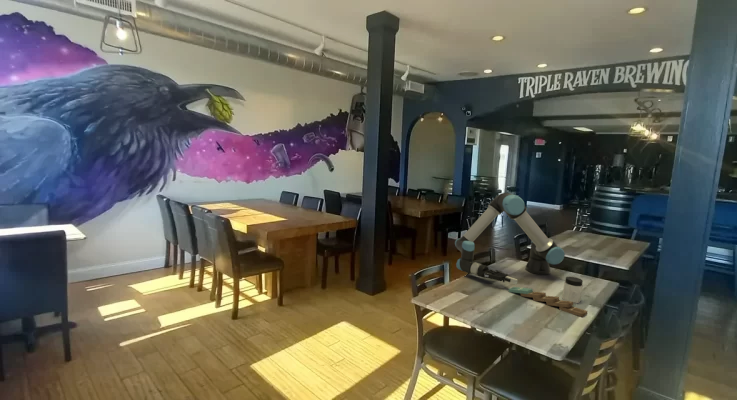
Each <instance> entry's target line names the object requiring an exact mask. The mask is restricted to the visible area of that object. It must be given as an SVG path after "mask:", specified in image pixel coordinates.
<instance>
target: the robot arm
mask: <svg viewBox="0 0 737 400" xmlns="http://www.w3.org/2000/svg"><path fill="white" fill-rule="evenodd" d="M527 208H528V207H526V204H525V202H524V199H522V198H521V197H520V196H519V195H517V194H512V193H509V192H502V193H500V194H498V195H497V196H495V197H494V198H493V199H492V200H491V201H490V202H489V204H488V205H487V209H486V210H485V211H484V212H483V213H482V214H481V215H480V216H479V217H478V218H477V220H475V222H474V223H473V224H472V225H471V226H470V227H469V228H468V230H467V231H466V232H465V233H464V234H463V235H462V236H461V237H460V238H456V240H455V241H454V245H455V246H454V247H455V248H456V249H457V250H458V251H459V252H460V253H461V256H460V257H459V259H458V258H457V261H456V263H455V265H456V268H457V269H458V270H460V271H462V272H465V273H468V274H471V275H474V276H477V277H479V278H483V279H486V278H487V279H491V280H494V281H499V282H502V283H505V282H507V283H509V284H513V285H517V284H518V279H517V278H514V277H510V276H509V274H507V273H504V272H502V271H499V270H498V269H495V270H493V269H489V267H488V266H487V265H484V264H482V263H479V262H476V261H474V258H475V257H474V254H475V248H476V247H475V242H474V241H475V240H476V239H477V238H478V237H479V236H480V235H481V234H482V233H483V231H485V229H487V227H488V226H489V225H491V223H492V222H493V221H494V219H495V218H497V216H499V215H501V214H502V213H503V212H504V213H505V214H506V215H507V216H508V217H509V219H511V220H514V221H515V222H516V223H517V225H518V226H519V227H520V228H521V229H522V231H523V232H524V233H525V234H526V235H527V237H528V238H529V239H530V240H531V242H530V250H529V259H528V261H527V263H526V265H525V271H527V272H528V273H532V274H534V275H543V276H547V275H550V274H551V267H550V265H555V266H556V265H559V264H560V263H561V262H562V261H564V259H565V251H564V249H563V248H562V247H560V246H558V244H557V243H556V242H555V240H553V239H552V238H548V236H547V235H546V234H545V232H544V231H543V230H542V229H541V227H539V225H538V224H537V223H536V221H535V220H534V219H533V218H532V217H531V216H530V214H529V213H528V212H527V210H528V209H527Z"/></svg>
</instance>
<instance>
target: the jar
mask: <svg viewBox="0 0 737 400" xmlns="http://www.w3.org/2000/svg"><path fill="white" fill-rule="evenodd" d="M582 293H583V279H581V278H578V277H576V276H566V277H565V281H564V283H563V291H562V296H561V298H562V300H563V301H571V302H573V304H579V303H580V302H581V299H582Z"/></svg>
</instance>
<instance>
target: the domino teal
mask: <svg viewBox="0 0 737 400" xmlns="http://www.w3.org/2000/svg"><path fill="white" fill-rule="evenodd" d="M508 292H509V293H515V294H521V293H523V294H529V293H531V292H534V289H533V288H528V287H520V286H518V287H517V286H513V287H511V288H508Z"/></svg>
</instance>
